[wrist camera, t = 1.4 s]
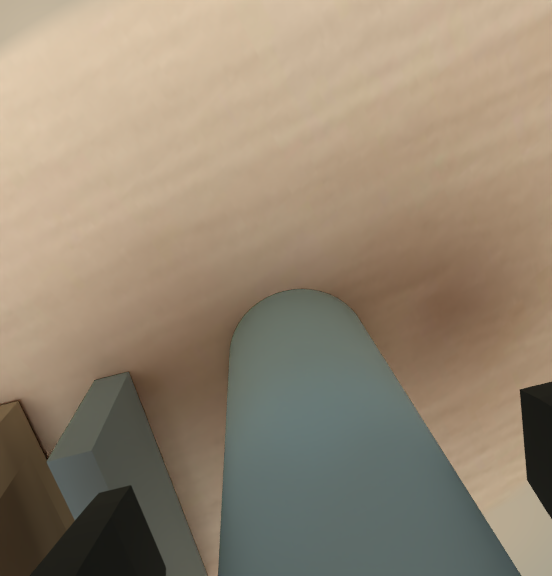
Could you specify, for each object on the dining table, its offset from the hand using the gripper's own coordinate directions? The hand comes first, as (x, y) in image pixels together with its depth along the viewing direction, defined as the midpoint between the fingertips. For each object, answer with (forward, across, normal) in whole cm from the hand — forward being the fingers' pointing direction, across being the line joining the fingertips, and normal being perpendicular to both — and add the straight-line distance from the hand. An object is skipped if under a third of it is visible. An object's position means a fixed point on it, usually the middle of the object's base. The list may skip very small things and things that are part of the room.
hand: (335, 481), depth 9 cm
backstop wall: (+5, +5, +3) cm, 8 cm away
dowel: (+5, 0, 0) cm, 5 cm away
